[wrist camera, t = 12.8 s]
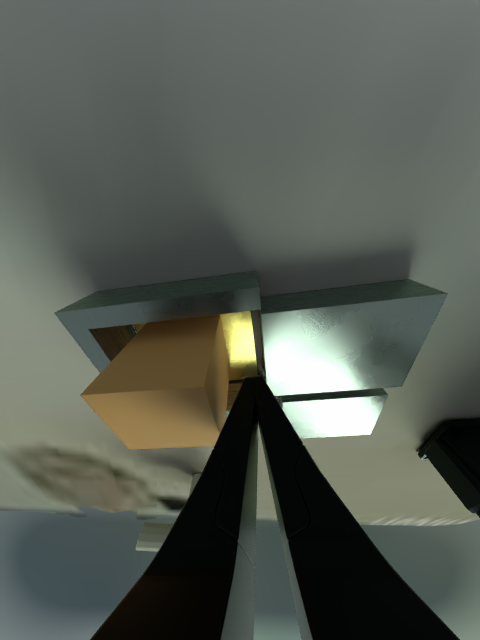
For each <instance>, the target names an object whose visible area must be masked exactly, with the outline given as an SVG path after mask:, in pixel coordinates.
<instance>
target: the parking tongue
mask: <svg viewBox="0 0 480 640" xmlns="http://www.w3.org/2000/svg"><path fill="white" fill-rule="evenodd" d="M387 397H388V394H387V393H386V392H385V391H384V390H383V388H375V389H362V390H348V391H335V392H321V393H308V394H294V395H281V396H279V404H280V406H281V408H282V409H283V411H284V413H285V414H286V416H287V418H288V419H289V421H290V423H291V424H292V426H293V427H294V429H295V431H296V432H297V434H298V436H299V437H300V438H316V437H334V436H353V435H370V434H371V432H372V430H373V427H374V425H375V423H376V421H377V419H378V416H379V414H380V412H381V410H382V408H383V405H384V403H385V401H386V399H387Z"/></svg>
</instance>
